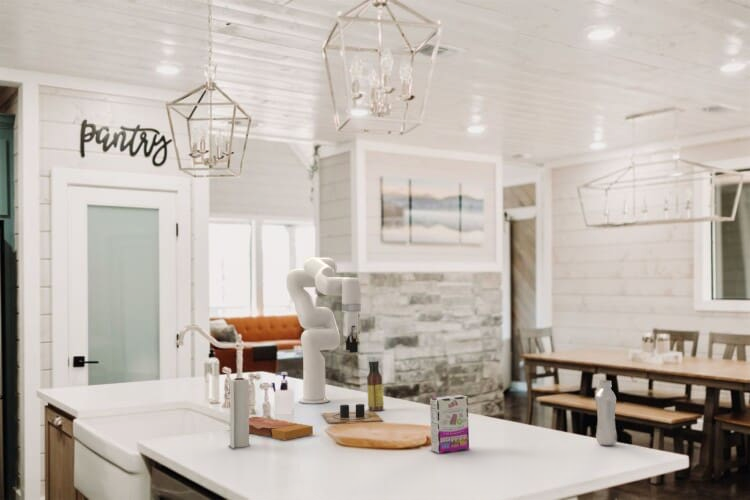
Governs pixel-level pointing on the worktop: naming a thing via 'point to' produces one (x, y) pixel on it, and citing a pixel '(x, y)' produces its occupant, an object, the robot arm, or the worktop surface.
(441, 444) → the candy bar box
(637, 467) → the worktop surface
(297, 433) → the brown flat block
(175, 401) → the worktop surface
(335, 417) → the board
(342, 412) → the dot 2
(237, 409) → the tall grey block
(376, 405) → the sauce bottle
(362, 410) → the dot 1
